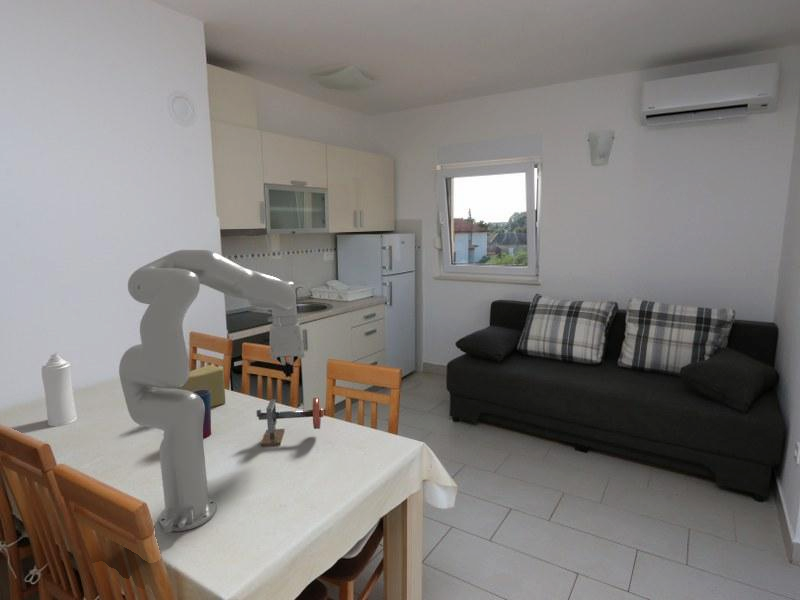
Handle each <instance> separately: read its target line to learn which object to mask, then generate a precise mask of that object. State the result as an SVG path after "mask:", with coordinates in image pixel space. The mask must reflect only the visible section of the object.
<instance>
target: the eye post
mask: <svg viewBox="0 0 800 600" xmlns="http://www.w3.org/2000/svg"><path fill="white" fill-rule="evenodd" d="M276 405H277V403H276V399H275V398H274V399H270V400H269V403H268V404H267V407H266V413H267V420H266V422H267V423H266V424H267V429H266V430H265V432H264V434H263V437H262V441H261V442H260V447H276V446H281V444H282V441H283V438H284V435H285V428H277V427H276V425H277V422H278V419H273V413H272V412H277V409H276V408H277V407H276Z"/></svg>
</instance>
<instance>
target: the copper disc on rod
mask: <svg viewBox="0 0 800 600" xmlns="http://www.w3.org/2000/svg"><path fill="white" fill-rule="evenodd" d="M272 413H273V419H277V420H278V419H279V420H282V419H297V418H312V425H313V429H314V430H320V429H321V426H322V425H321V421H322V418H324V415H325V414H324V408H322V407H321V398H320V397H313V398H312V409H305V410H289V411H288V410H287V411H276V412H272ZM257 417H258V418H257ZM256 418H257V419H258V421H264V420H266V421H267V412H262V409H256Z"/></svg>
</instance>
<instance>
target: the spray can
mask: <svg viewBox="0 0 800 600" xmlns="http://www.w3.org/2000/svg"><path fill="white" fill-rule="evenodd" d="M41 378H42V379H41V380H42V383H43V388H44V394H45V405H46V414H47V415H46V416H47V425H48V426H51V427H59V426H61V427H62V426H65V425H69V424H72V423H73V422H75V421H77V419H78V416H77V408H76V404H75V403H76V402H75V397H74V392H73V383H72V373H71V363H70V361H69V360H65V359H63V357H61V355H60V354H59V351H55V352H52V353H51V354H50V358H49V359H48V361H47V362H46V363H44V364H42V365H41Z"/></svg>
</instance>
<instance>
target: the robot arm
mask: <svg viewBox="0 0 800 600" xmlns="http://www.w3.org/2000/svg"><path fill="white" fill-rule="evenodd" d="M201 285H203V286H206V287H208V288H211V289H213V290H215V291H218V292H220V293H222V294H225V295H227V296H229V297H232V298H236V299H242V300H247V302H248V303H249V305H250V306H251V307H252V308H254V309H257V310H271V313H272V315H271V316H269V317H267V322H271V325H270V328H269V354H270V357H269V358H270V360H274V361H278V362H279V363H280V364H281V365H282V368H283V369H282V370H283V375H285V378H288V377H289V378H292V375H293V374H294V363H296V361H297V360H298V359H299V360H300V359H302V358H304V357H305V354H306V353H305V351H304V339H303V334H302V328H301V324H300V323H299V322H298V311H297V295H296V285H295V283H294V282H293V281H291V280H282V279H279V278H277V277H274V276H271V275H269V274H265V273H262V272H260V271H255V270H253V269H250V268H246V267H244V266H242V265H239V263H236V262H234V261H232V260H230V259H229V258H227V257H226V256H224V255H221V254H219V253H218V252H215V251H213V250H208V249H179V250H176V251H173V252H171V253H169V254H166V255H164V256H162V257H160V258H158V259H155V260H153V261H151V262H149V263H147V264H145V265H143V266H141V267H138V268H137V269H136V270H134V271H133V272H132V273H131V275H130V277H129V278H128V282H127V290H128V293H129V295H130V297H131V298H132V299H133V300H135V301H136V302H138V303H141V304H146V305H148V306H147V308H146V309H145V312H144V314H143V315H142V318H141V319H140V323H139V335H140V342H141V344H136V345H133V346H131V347H129V348H128V349H127V350H126V351H124V353H123V355H122V357H121V359H120V361H119V367H118V374H119V380H120V384H121V388H122V392H123V396H124V400H125V404H126V408H127V411H128V414H129V416H130V418H131V419H132V421H133V422H134V423H136V424H137V425H139V426H142V427H146V428H151V429H152V428H153V429H158V430H161V431H163V432H164V436H163V437H162V438H163V439H162V440H161V443H160V446H159V449H158V450H159V451H158V452H159V454H158V455H159V462H160V470H161V471H160V472H161V480H162V488H163V498H164V507H165V508H164V509H163V510H162V512H161V513H160V515H159V518H158V521H159V525H160V527H161V528H162V531H163V532H164V533H165V534H170V533H171V532H183V531H188V530H192V529H194V528H197V527H200V526H202V525H203V524H205V523H206V522H208V521H209V520H211V518H213V516H214V515H215V514H216V512H217V504H216V501H215V500H214V499H213V498H211V497H209V492H208V489H209V488H208V480H207V479H208V478H207V469H206V457H205V447H204V438H203V422H204V415H205V405H204V402H203V400H202V399H201V397H200V396H198V395H197V394H195V393H193V392H190V391H187V390H181V389H174V388H178V387H180V386H182V385H184V384H185V383H186V382H187V380H188V378H189V375H190V371H191V369H190V362H189V361H190V360H189V357H188V351H187V348H186V340H185V338H184V337H185V336H184V329H183V328H184V327H183V322H184V319H185V317H186V316H185V315H186V313H188V310H189V308H190V307H191V305H192V304H193V303H194V301H195V300H196V298H197V297H198V294H199V293H200V287H201ZM287 357H289V361H288V360H287Z"/></svg>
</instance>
